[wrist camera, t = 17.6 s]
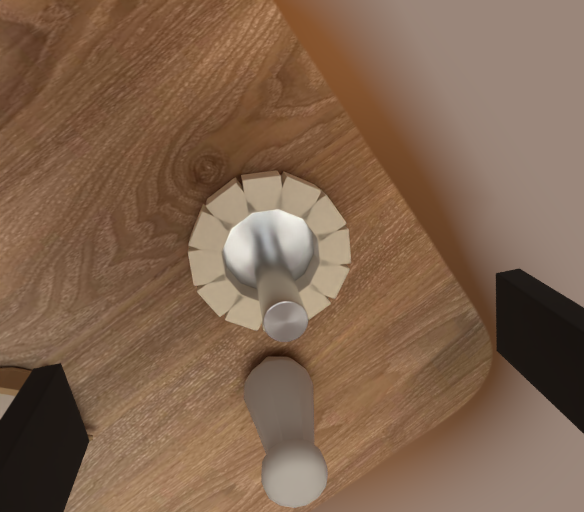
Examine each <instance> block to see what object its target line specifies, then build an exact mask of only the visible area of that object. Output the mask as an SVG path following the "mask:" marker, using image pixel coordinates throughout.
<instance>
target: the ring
mask: <svg viewBox="0 0 584 512" xmlns="http://www.w3.org/2000/svg"><path fill="white" fill-rule="evenodd" d="M241 178H242V185H241V184H240V182H239V181H238V180H237V179H236V178H234V179H232V180H231V181H230V182H228V183H227V184H226V185H224V186H223V187H222V188H221V189H219V190H218V191H217V192H215V193H214V194H213V195H211V196H210V197H209V198H208V199H207V201H206V205H204V204H203V205H202V208H201V210H200V213H199V215H198V218H197V220H196V223H195V225H194V228H193V230H192V233H191V236H190V240H189V244H188V245H189V248H188V257H189V262H190V268H191V273H192V278H193V284H194V286H197V293H198V294H199V295H200V296H201V297H202V298H203V299H204V300H205V301H206V302H207V304H208V305H209V306H210V307H211V308H212V309H213V310H214V311H215V312H216V314H217V315H218V316H219V317H221V316H222V315H223V314H225V320H226V321H229V322H231V323H234V324H237V325H240V326H243V327H246V328H249V329H252V330H255V331H258V329H259V327H260V325H261V323H262V327H263V331H265V329H264V326H263V321H262V315H261V309H260V303H259V298H258V292H257V289H255V288H252V287H249V286H247V285H244V284H241V283H240V282H239V281H238V280H237V278H236V277H235V276H234V275H233V274H232V273H231V271H230V270H229V269H228V268H227V267H226V265H225V258H224V252H223V248H224V246H225V244H226V241H227V239H228V236H229V234H230V232H231V229H232V228H233V227H235V226H236V225H237V224H239V223H240V222H241V221H243V220H244V219H245V218H247V217H248V216H249V215H251V214H252V213H255V212H263V211H270V210H278V209H279V210H282V211H284V212H287V213H289V214H292V215H294V216H296V217H299V218H301V219H303V220H304V222H305V223H306V224H307V226H308V227H309V228H310V230H311V231H312V235H313V246H314V255H313V257H312V259H311V261H310V263H309V265H308V268H307V270H306V272H305V274H304V275H303V276H301V277H300V278H298V279H297V280H296V281H295V283H296V286H297V289H298V291H299V294H300V297H301V299H302V302H303V304H304V307H305V310H306V312H307V315H308V320H309V319H311V318H312V317H313V316H315V315H316V314H318V313H319V312H320V311H322V310H323V309H325V308H326V307H327V306H329V305H330V304H331V303H330V301H329V299H328V297H330V298H333V299H335V298H336V296H337V294H338V292H339V290H340V288H341V286H342V284H343V282H344V280H345V278H346V276H347V274H348V272H349V270H350V268H349V267H348V266H347V263H351V253H350V239H349V229H348V228H347V227H346V226H345V224H346V221H345V220H344V219H343V217H342V216H341V214H340V213H339V212H338V210H337V209H336V207H335V206H334V205H333V203H332V202H331V200H330V199H329V198H328V196H327V195H326V194H325V193H324V192H323V191H322V190H321V189H319V188H318V187H317V186H316V185H315V184H312V183H310V182H308V181H305V180H303V179H301V178H298V177H296V176H294V175H291V174H289V173H287V172H284V171H283V173H282V175H280V174H279V173H278V171H277V170H275V171H267V172H260V173H252V174H244V175H241Z"/></svg>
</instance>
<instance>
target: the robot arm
mask: <svg viewBox="0 0 584 512" xmlns="http://www.w3.org/2000/svg"><path fill="white" fill-rule="evenodd" d="M496 322H497V323H496V327H497V328H496V329H497V351H498V352H499V353H500V354H501V355H502V356H503V357H504V358H505V359H506V360H507V361H508V362H509V363H510V364H511V365H512V366H513V367H514V368H515V369H516V370H518V371H519V372H520V373H521V374H522V375H523V376H524V377H525V378H526V379H527V380H528V381H529V382H530V383H531V384H532V385H533V386H534V387H535V388H536V389H538V391H539V392H541V393H542V394H543V395H544V396H545V397H546V398H547V399H548V400H549V401H550V402H551V403H552V404H553V405H554V406H555V407H556V408H557V409H558V410H560V412H562V413H563V414H564V415H565V416H566V417H567V418H568V419H569V420H570V421H571V422H572V423H573V424H574V425H575V426H576V427H577V428H578V429H579V430H580V431H582V433H584V308H583V307H581V306H580V305H578V304H577V303H575V302H573V301H572V300H570V299H569V298H567V297H565V296H564V295H562V294H560V293H559V292H557V291H555V290H554V289H552V288H551V287H549V286H547V285H545V284H544V283H542V282H541V281H539V280H537V279H536V278H534V277H532V276H531V275H529V274H527V273H526V272H524V271H522V270H521V269H515V270H510V271H505V272H500V273H496ZM88 443H89V437H88V435H87V432H86V429H85V427H84V424H83V421H82V419H81V416H80V413H79V411H78V408H77V405H76V402H75V400H74V397H73V394H72V392H71V389H70V386H69V384H68V381H67V378H66V376H65V373H64V370H63V368H62V365H61V363H60V364H55V365H50V366H45V367H40V368H35V369H33V370H32V372H31V373H30V375H29V376H28V378H27V379H26V381H25V383H24V384H23V386H22V387H21V389H20V390H19V392H18V393H17V395H16V396H15V398H14V399H13V401H12V402H11V404H10V405H9V407H8V408H7V410H6V412H5V413H4V415H3V416H2V418H1V419H0V512H64V509H65V506H66V503H67V501H68V498H69V495H70V492H71V490H72V487H73V484H74V481H75V479H76V476H77V473H78V470H79V468H80V465H81V462H82V460H83V457H84V454H85V451H86V449H87V446H88Z"/></svg>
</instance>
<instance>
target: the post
mask: <svg viewBox="0 0 584 512" xmlns="http://www.w3.org/2000/svg"><path fill="white" fill-rule="evenodd" d="M223 252H224V258H225V265H226V267H227V268H228V269H229V270H230V271H231V273H232V274H233V275H234V276H235V277H236V278H237V280H238V281H239V282H240V283H241V284H244V285H247V286H249V287H252V288H255V289H257V292H258V298H259V303H260V309H261V315H262V321H263V326H264V329H265V332H266V333H267V334H268V336H269V337H271V338H272V339H274V340H276V341H280V342H289V341H293V340H295V339H297V338H299V337H300V336H301V335H302V334H303V333H304V331H305V330H306V328H307V325H308V315H307V312H306V310H305V307H304V304H303V302H302V299H301V297H300V294H299V291H298V289H297V286H296V283H295V281H296V280H297V279H298V278H300V277H301V276H303V275H304V274H305V272H306V270H307V268H308V265H309V263H310V261H311V259H312V257H313V255H314V246H313V235H312V231H311V230H310V228H309V227H308V226H307V224H306V223H305V222H304V220H303V219H301V218H299V217H296V216H294V215H292V214H289V213H287V212H284V211H282V210H279V209H278V210H270V211H263V212H255V213H252V214H251V215H249V216H248V217H247V218H245V219H244V220H243V221H241V222H240V223H239V224H237V225H236V226H235V227H233V228H232V229H231V232H230V234H229V236H228V239H227V241H226V244H225V246H224V248H223Z"/></svg>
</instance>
